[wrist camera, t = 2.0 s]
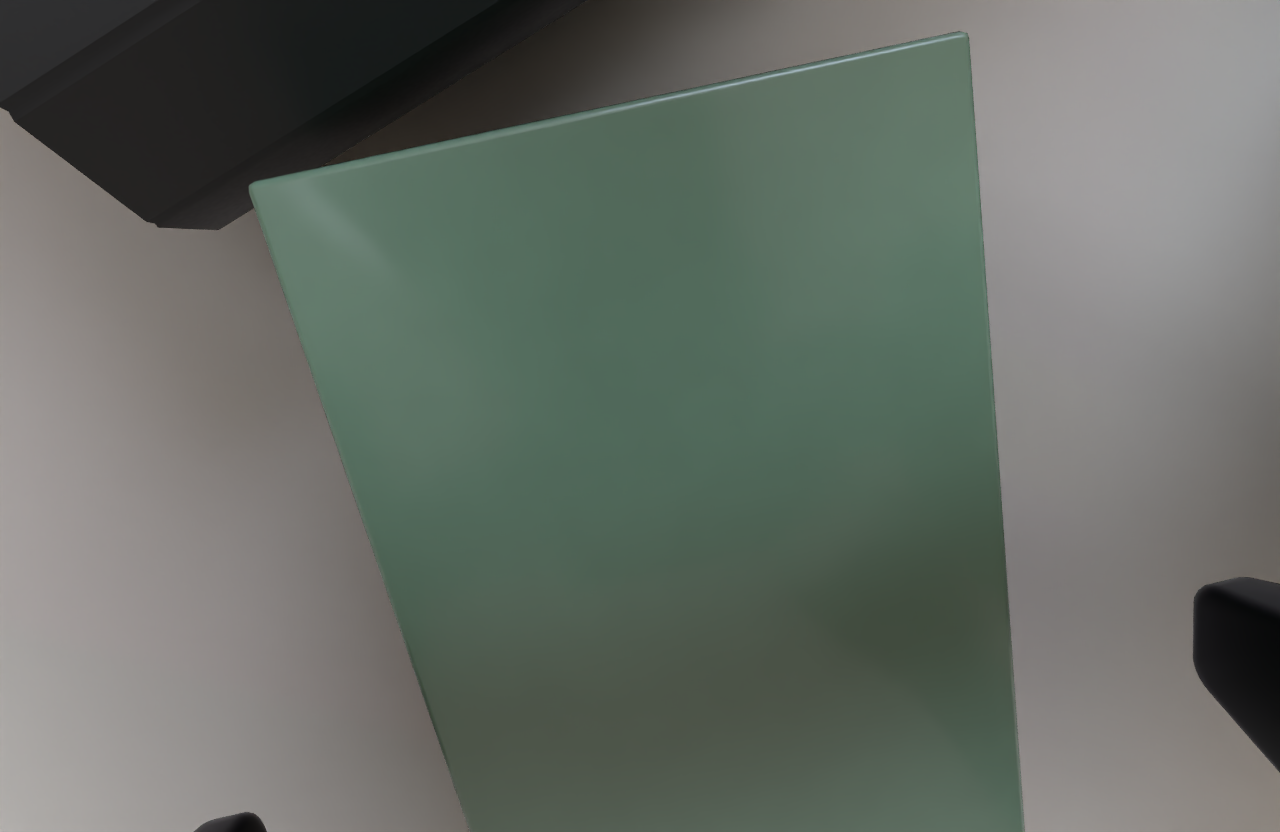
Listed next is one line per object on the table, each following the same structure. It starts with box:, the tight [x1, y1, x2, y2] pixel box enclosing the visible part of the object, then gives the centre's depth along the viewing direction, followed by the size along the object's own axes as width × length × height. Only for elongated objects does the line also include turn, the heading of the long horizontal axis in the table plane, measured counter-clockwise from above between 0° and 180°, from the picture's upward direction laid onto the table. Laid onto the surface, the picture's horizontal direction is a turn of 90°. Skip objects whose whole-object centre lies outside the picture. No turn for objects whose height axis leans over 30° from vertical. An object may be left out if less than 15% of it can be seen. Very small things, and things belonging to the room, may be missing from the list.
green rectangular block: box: [249, 31, 1025, 832], centre depth 8 cm, size 11×5×4 cm, turn 12°
